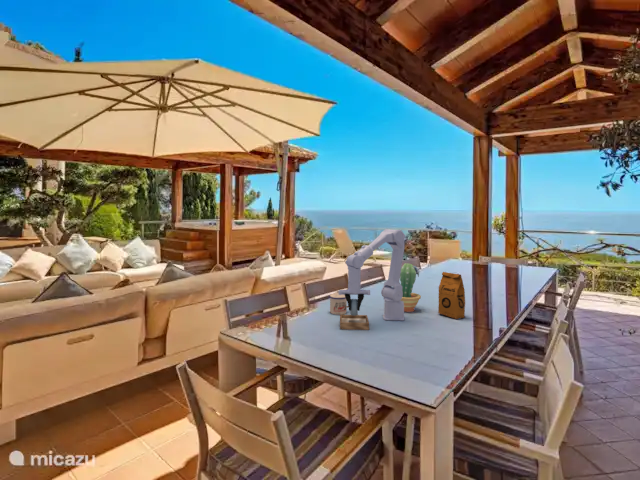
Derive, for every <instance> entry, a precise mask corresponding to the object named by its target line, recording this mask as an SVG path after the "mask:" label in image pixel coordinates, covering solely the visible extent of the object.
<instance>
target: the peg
mask: <svg viewBox="0 0 640 480" xmlns="http://www.w3.org/2000/svg"><path fill="white" fill-rule="evenodd" d="M350 305H351V311H349V312H350V313H349V315H354V316H355V315H359V314H358V313H359V312H358V298H351V301H350Z"/></svg>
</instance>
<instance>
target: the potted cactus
mask: <svg viewBox="0 0 640 480" xmlns="http://www.w3.org/2000/svg"><path fill="white" fill-rule="evenodd" d="M417 277H418V278H419V277H420V270H419V268H418V267H417V266H416V265H413V264H412V263H404V264H402V267H401V273H400V280H399V282H400V284H401V285H402V287H403V288H402V292H403V297H402V299H401V300H400V301H403V302H404V313H405V312H406V313H407V312H408V313H411V312H414V311H415V307H416V306H417V305H418V303H419V300H420V299H421V297H422V295H420V294H419V293H415V292H413V287H414V284H415V282H416V278H417Z"/></svg>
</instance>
